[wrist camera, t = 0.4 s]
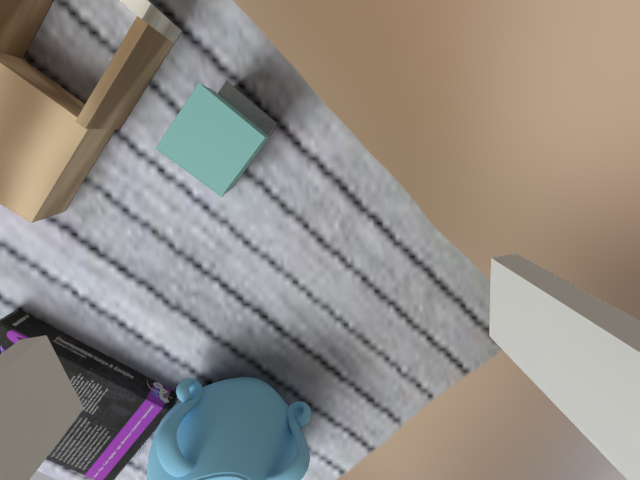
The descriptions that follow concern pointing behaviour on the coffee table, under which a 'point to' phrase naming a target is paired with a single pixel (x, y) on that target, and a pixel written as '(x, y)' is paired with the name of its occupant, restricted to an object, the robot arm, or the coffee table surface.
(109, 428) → the box
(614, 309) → the robot arm
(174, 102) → the coffee table surface
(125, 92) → the drawer
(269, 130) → the dark grey block
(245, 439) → the decorative pot
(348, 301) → the coffee table surface
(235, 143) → the block
